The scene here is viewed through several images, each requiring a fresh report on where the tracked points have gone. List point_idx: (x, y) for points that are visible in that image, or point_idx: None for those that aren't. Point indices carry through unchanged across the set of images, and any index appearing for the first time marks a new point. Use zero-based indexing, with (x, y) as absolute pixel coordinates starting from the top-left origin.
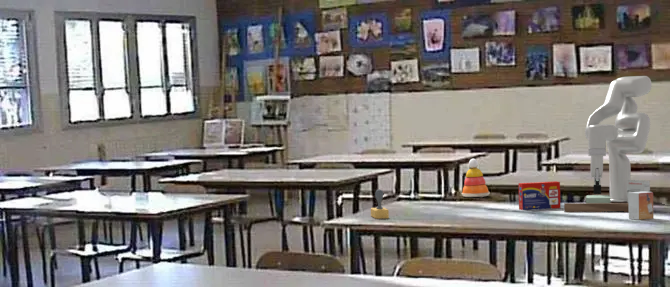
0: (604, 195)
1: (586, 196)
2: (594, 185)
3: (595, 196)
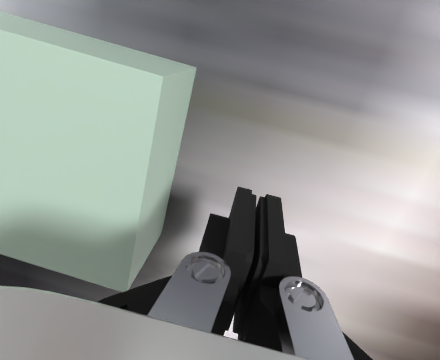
0: (107, 244)
1: (9, 33)
2: (224, 257)
3: (5, 135)
